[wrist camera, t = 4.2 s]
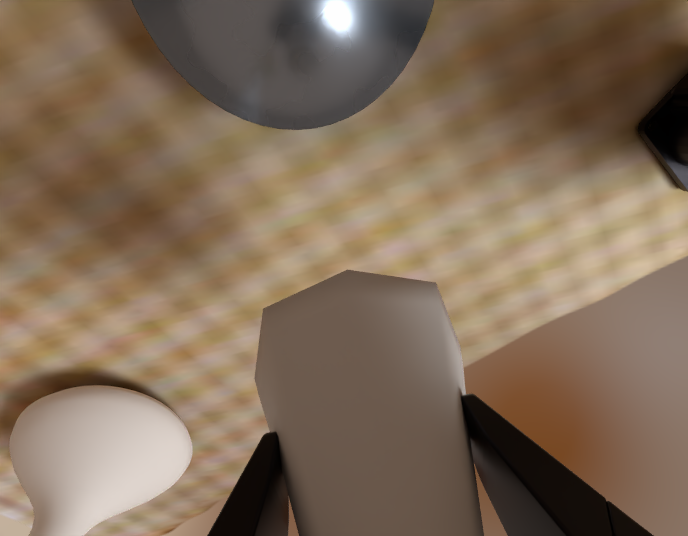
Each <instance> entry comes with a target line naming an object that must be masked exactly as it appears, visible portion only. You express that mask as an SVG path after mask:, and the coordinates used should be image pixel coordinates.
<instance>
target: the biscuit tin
mask: <svg viewBox="0 0 688 536" xmlns="http://www.w3.org/2000/svg"><path fill="white" fill-rule="evenodd" d="M132 2H133V5H134V7H135V8H136V10H137V12H138V14H139V16H140V18H141V20H142V22H143V24H144V26H145V28H146V29H147V31H148V33H149V34H150V36H151V37H152V39H153V40H154V42H155V43H156V45H157V47H158V48H159V50H160V51H161V52H162V53H163V55H164V56H165V57H166V58H167V60H168V61H169V62H170V63H171V65H172V66H173V67H174V68H175V70H176V71H177V72H178V73H179V74H180V75H181V76H182V77H183V78H184V79H185V80H186V81H187V82H188V83H189V84H190V85H191V86H192V87H194V88H195V89H196V90H197V91H198V92H200V93H201V94H202V95H203V96H205V97H206V98H207V99H208V100H210V101H211V102H213V103H214V104H216V105H218V106H219V107H221V108H222V109H224V110H225V111H227V112H229V113H231V114H233V115H236V116H238V117H240V118H242V119H244V120H247V121H250V122H253V123H256V124H259V125H262V126H267V127H272V128H277V129H291V130H301V129H312V128H318V127H322V126H326V125H331V124H333V123H336V122H338V121H341V120H344V119H346V118H348V117H350V116H352V115H354V114H355V113H357V112H359V111H361V110H363V109H364V108H365V107H367V106H368V105H369V104H371V103H372V102H373V101H375V100H376V99H377V98H378V97H379V96H380V95H381V94H382V93H383V92H384V91H385V90H386V89H388V88H389V87H390V86H391V84H392V83H393V82H394V81H395V79H396V78H397V77H398V76H399V74H400V73H401V72H402V71H403V69H404V68H405V66H406V65H407V63H408V61H409V60H410V58H411V57H412V55H413V53H414V52H415V50H416V48H417V46H418V43H419V41H420V39H421V37H422V35H423V33H424V31H425V28H426V25H427V22H428V19H429V17H430V14H431V11H432V7H433V3H434V0H132Z"/></svg>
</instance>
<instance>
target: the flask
mask: <svg viewBox="0 0 688 536" xmlns="http://www.w3.org/2000/svg"><path fill="white" fill-rule="evenodd" d="M255 382H256V386H257V390H258V394H259V397H260V401H261V404H262V407H263V411H264V414H265V417H266V420H267V423H268V427H269V430H270V432H275V431H276V432H277V435H278V441H279V451H280V461H281V469H282V473H283V476H284V480H285V484H286V488H287V491H288V495H289V499H290V503H291V506H292V510H293V514H294V518H295V522H296V525H297V529H298V533H299V536H484V533H483V526H482V519H481V511H480V504H479V497H478V490H477V483H476V476H475V469H474V461H473V454H472V447H471V440H470V434H469V430H468V426H467V422H466V418H465V414H464V410H463V406H462V402H461V395H466V392H465V382H464V372H463V363H462V356H461V349H460V344H459V342H458V339H457V336H456V334H455V331H454V329H453V326H452V323H451V321H450V318H449V315H448V313H447V310H446V308H445V305H444V302H443V300H442V297H441V294H440V292H439V289H438V287H437V284H436V283H434V282H428V281H421V280H414V279H407V278H400V277H394V276H387V275H380V274H373V273H366V272H359V271H353V270H346V271H344V272H341V273H339V274H337V275H335V276H333V277H331V278H328V279H326V280H324V281H322V282H320V283H318V284H315V285H313V286H311V287H309V288H307V289H305V290H303V291H300V292H298V293H296V294H294V295H292V296H290V297H287V298H285V299H283V300H281V301H279V302H277V303H274V304H272V305H270V306H268V307H266V308H264V309H263V314H262V322H261V330H260V338H259V346H258V354H257V362H256V371H255Z"/></svg>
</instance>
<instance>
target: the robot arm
mask: <svg viewBox="0 0 688 536" xmlns="http://www.w3.org/2000/svg"><path fill="white" fill-rule="evenodd" d="M650 124H651V125H650ZM649 125H650V127H649ZM648 128H649V129H648ZM638 133H639V134H640V136H641V137H642V138H643V140H644V141H645V142H646V144H647V145H648V146H649V148H650V149H651V150H652V152H653V153H654V154H655V155H656V157H657V158H658V159H659V161H660V162H661V163H662V165H663V166H664V167H665V169H666V170H667V171H668V173H669V174H670V175H671V176H672V178H673V179H674V180H675V182H676V183H677V184H678V186H679V187H680V188H681V189H682V190H683V191H687V192H688V74H687V75H686V76H685V77H684V78H683V79H682V80H681V81H680V82H679V83H678V84H677V85H676V86H675V87H674V88H673V89H672V90H671V91H670V92H669V93H668V94H667V95H666V96H665V97H664V98H663V99H662V100H661V101H660V102H659V103H658V104H657V105H656V106H655V107H654V108H653V109H652V110H651V111H650V112H649V114H648V115H647V116H646V117H645V118H644V119H643V120H642V121H641V122H640V123H639V126H638ZM461 402H462V406H463V410H464V414H465V418H466V422H467V426H468V430H469V434H470V440H471V447H472V454H473V461H474V464H475V466H476V469H477V472H478V474H479V477H480V479H481V482H482V484H483V486H484V488H485V490H486V493H487V494H488V496H489V499H490V501H491V503H492V505H493V507H494V509H495V510H496V513H497V515H498V516H499V519H500V521H501V523H502V525H503V527H504V529H505V531H506V533H507V535H508V536H654V535H652V534H651V533H649V532H648V531H647V530H646V529H644V528H643V527H642V526H640V525H639V524H638V523H637V522H635V521H634V520H633V519H631V518H630V517H629V516H627V515H626V514H625V513H624V512H622V511H621V510H620V509H619V508H617V507H616V506H615V505H614V504H612V503H611V502H610V501H607V502H606V499H605V498H604V497H603V496H602V495H601V494H599V493H598V492H597V491H596V490H594V489H593V488H592V487H591V486H589V485H588V484H587V483H585V482H584V481H583V480H582V479H581V478H579V477H578V476H577V475H575V474H574V473H573V472H572V471H570V470H569V469H568V468H566V467H565V466H564V465H563V464H562V463H560V462H559V461H558V460H556V459H555V458H554V457H553V456H551V455H550V454H549V453H548V452H546V451H545V450H544V449H543V448H541V447H540V446H539V445H538V444H536V443H535V442H534V441H533V440H531V439H530V438H529V437H527V436H526V435H525V434H524V433H522V432H521V431H520V430H519V429H517V428H516V427H515V426H514V425H512V424H511V423H510V422H509V421H507V420H506V419H505V418H503V417H502V416H501V415H500V414H498V413H497V412H496V411H495V410H493V409H492V408H491V407H490V406H488V405H487V404H486V403H484V402H483V401H482V400H481V399H479V398H478V397H477V396H476V395H474V394H466V395H461ZM288 525H289V497H288V491H287V488H286V484H285V480H284V476H283V473H282V469H281V461H280V451H279V441H278V435H277V432H276V431H275V432H269V433H266V434H264V435H263V437H262V439H261V440H260V442H259V444H258V446H257V448H256V449H255V451H254V453H253V455H252V457H251V458H250V460H249V462H248V464H247V466H246V467H245V469H244V471H243V473H242V474H241V476H240V478H239V480H238V482H237V483H236V485H235V487H234V489H233V491H232V492H231V494H230V496H229V498H228V500H227V501H226V503H225V505H224V507H223V509H222V510H221V512H220V514H219V516H218V518H217V519H216V521H215V523H214V525H213V526H212V528H211V530H210V532H209V534H208V535H207V536H288Z"/></svg>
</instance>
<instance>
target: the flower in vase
mask: <svg viewBox="0 0 688 536" xmlns="http://www.w3.org/2000/svg"><path fill="white" fill-rule="evenodd" d="M9 450H10V455H11V460H12V465H13V468H14V471H15V473H16V475H17V477H18V479H19V481H20V483H21V485H22V487H23V489H24V490H25V492H26V494H27V496H28V497H29V499H30V502H31V504H32V506H33V509H34V522H33V527H32V530H31V532H30V534H29V536H84V535H85V534H86V533H87V532H88V531H89V530H90V529H91V528H92V527H94V526H95V525H97V524H98V523H100V522H102V521H104V520H106V519H108V518H110V517H112V516H115V515H117V514H120V513H122V512H125V511H127V510H129V509H132V508H134V507H136V506H139V505H141V504H143V503H145V502H148V501H149V500H151V499H153V498H154V497H156V496H158V495H159V494H161V493H163V492H164V491H166V490H167V489H169V488H170V487H171V486H173V485H174V483H175V482H176V481H177V480H178V479H179V478H180V477H181V475H182V474H183V473H184V471H185V470H186V469H187V467H188V466H189V463H190V461H191V458H192V442H191V438H190V436H189V433H188V431H187V428H186V426H185V425H184V423H183V421H182V420H181V419H180V418H179V416H178V415H177V414H176V413H175V412H173V411H172V410H171V409H170V408H169V407H167V406H166V405H164V404H163V403H161V402H159V401H158V400H156V399H154V398H152V397H150V396H147V395H145V394H143V393H140V392H136V391H133V390H129V389H125V388H120V387H113V386H102V385H91V386H80V387H74V388H69V389H65V390H62V391H59V392H56V393H53V394H50V395H47V396H44V397H42V398H40V399H38V400H36V401H35V402H33V403H32V404H30V405H29V406H28V407H27V408H26V409H25V410H24V411H23V412H22V413H21V414H20V416H19V417H18V419H17V420H16V423H15V426H14V428H13V431H12V434H11V436H10V441H9Z"/></svg>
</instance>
